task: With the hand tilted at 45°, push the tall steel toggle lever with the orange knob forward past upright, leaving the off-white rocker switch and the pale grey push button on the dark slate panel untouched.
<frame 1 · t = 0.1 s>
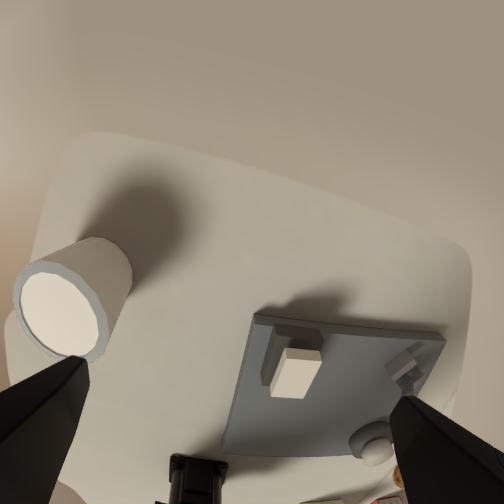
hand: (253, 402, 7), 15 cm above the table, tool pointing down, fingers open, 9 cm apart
push button: (377, 452, 25), point 4 cm above the table, slide at 0.0 cm
toggle lever: (410, 448, 17), point 9 cm above the table, hinge at -22.0°
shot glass: (99, 271, 22), on the table
switch panel: (330, 397, 26), on the table
rocker switch: (294, 374, 20), point 4 cm above the table, hinge at -8.0°
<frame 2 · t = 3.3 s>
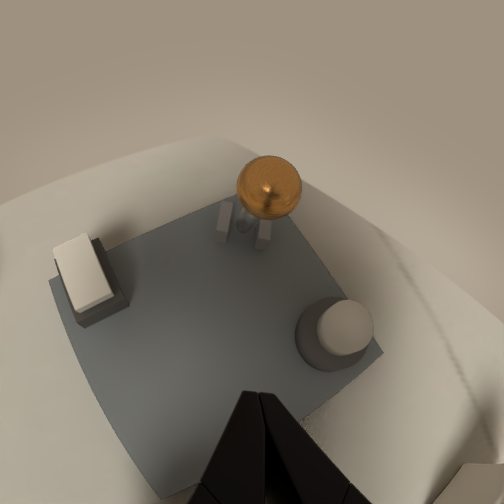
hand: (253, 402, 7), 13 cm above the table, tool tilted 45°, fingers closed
push button: (345, 328, 18), point 4 cm above the table, slide at 0.0 cm
toggle lever: (260, 200, 15), point 9 cm above the table, hinge at -22.0°
switch panel: (214, 330, 21), on the table
rocker switch: (82, 272, 16), point 4 cm above the table, hinge at -8.0°
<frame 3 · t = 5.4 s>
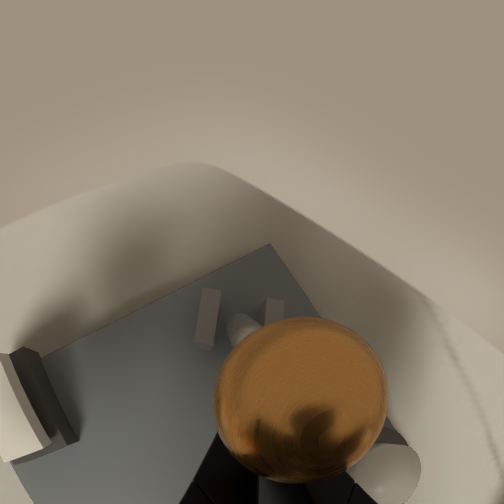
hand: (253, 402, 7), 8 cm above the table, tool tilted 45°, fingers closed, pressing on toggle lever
push button: (383, 477, 10), point 4 cm above the table, slide at 0.0 cm
toggle lever: (272, 367, 6), point 9 cm above the table, hinge at -20.4°, touching gripper
switch panel: (200, 465, 12), on the table
rocker switch: (3, 408, 8), point 4 cm above the table, hinge at -8.0°
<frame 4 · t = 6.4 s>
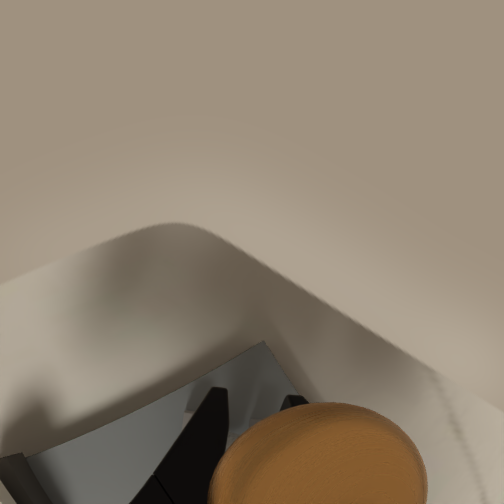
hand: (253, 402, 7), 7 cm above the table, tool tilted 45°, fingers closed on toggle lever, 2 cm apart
toggle lever: (272, 475, 5), point 10 cm above the table, hinge at 5.2°, touching gripper
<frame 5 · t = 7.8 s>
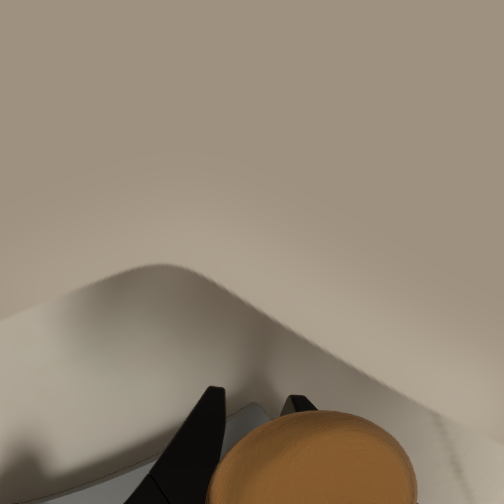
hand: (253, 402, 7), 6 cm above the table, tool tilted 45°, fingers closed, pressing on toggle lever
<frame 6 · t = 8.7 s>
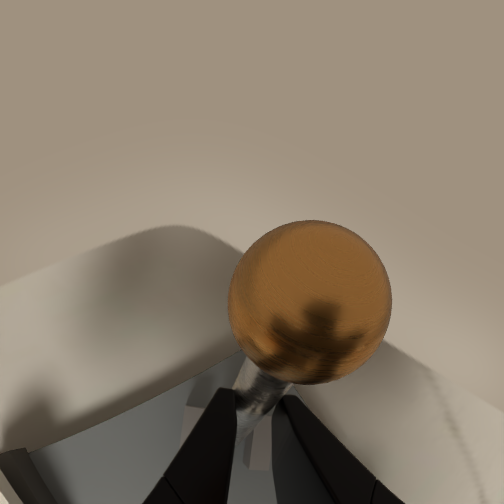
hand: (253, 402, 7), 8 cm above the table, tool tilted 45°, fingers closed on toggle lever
toggle lever: (274, 363, 6), point 9 cm above the table, hinge at 20.1°, touching gripper
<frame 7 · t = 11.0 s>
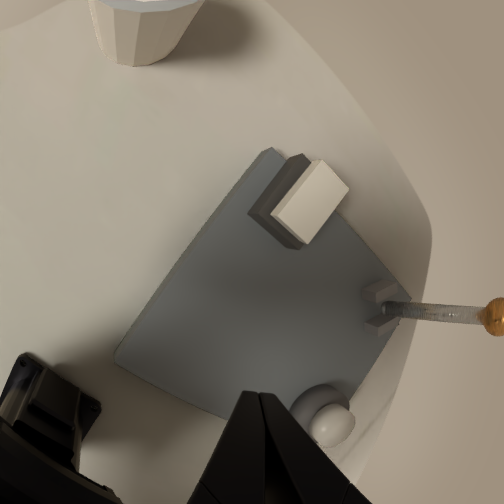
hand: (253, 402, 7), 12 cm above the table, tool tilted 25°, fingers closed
push button: (332, 425, 20), point 4 cm above the table, slide at 0.0 cm
toggle lever: (472, 315, 17), point 9 cm above the table, hinge at 19.8°
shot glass: (138, 34, 16), on the table
switch panel: (287, 323, 22), on the table
rocker switch: (311, 201, 17), point 4 cm above the table, hinge at -8.0°
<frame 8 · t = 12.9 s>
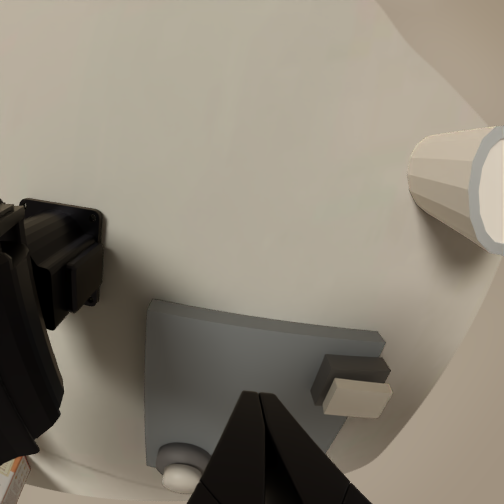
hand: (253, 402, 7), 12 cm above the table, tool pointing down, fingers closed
push button: (182, 479, 20), point 4 cm above the table, slide at 0.0 cm
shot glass: (438, 174, 18), on the table
switch panel: (246, 411, 23), on the table
rocker switch: (357, 399, 18), point 4 cm above the table, hinge at -8.0°
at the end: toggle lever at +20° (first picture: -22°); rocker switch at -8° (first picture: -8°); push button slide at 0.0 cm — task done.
